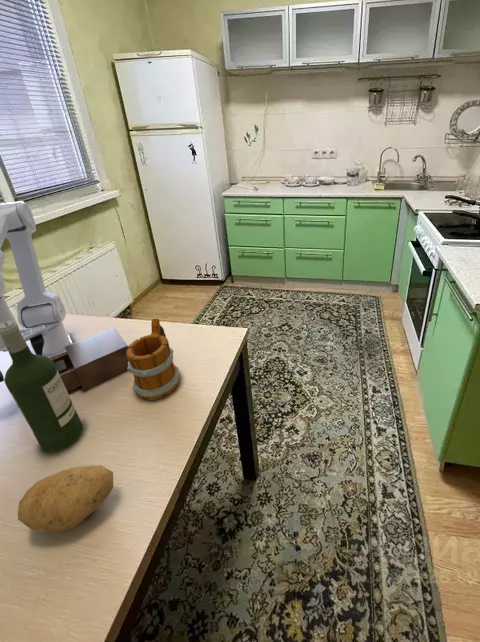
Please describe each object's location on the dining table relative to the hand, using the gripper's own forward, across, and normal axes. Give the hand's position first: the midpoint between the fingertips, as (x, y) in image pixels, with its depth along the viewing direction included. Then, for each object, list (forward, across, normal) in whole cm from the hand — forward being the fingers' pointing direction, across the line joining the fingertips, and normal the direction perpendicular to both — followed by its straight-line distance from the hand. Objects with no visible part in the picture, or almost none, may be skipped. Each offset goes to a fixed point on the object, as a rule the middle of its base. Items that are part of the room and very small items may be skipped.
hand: (22, 370), depth 77 cm
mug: (+9, +26, -15) cm, 31 cm away
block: (+5, +8, 0) cm, 9 cm away
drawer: (+8, +5, 0) cm, 10 cm away
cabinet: (+9, +16, 0) cm, 18 cm away
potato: (+9, +2, -36) cm, 37 cm away
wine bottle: (+9, +3, -17) cm, 20 cm away
